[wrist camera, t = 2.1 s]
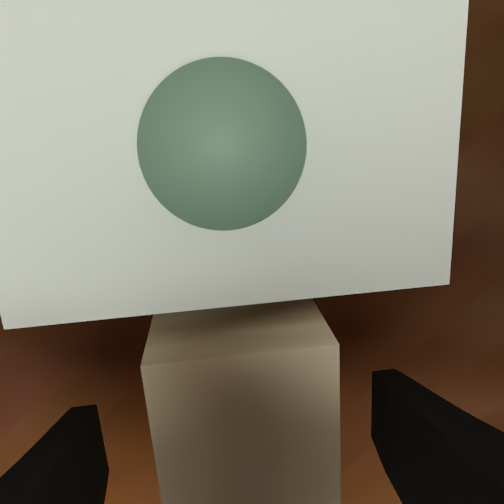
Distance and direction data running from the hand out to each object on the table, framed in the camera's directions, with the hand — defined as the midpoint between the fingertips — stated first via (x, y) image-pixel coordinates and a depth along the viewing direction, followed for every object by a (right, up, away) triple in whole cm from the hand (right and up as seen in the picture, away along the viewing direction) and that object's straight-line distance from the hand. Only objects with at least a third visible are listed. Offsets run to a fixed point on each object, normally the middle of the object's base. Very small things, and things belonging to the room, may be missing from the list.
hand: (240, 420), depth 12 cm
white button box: (-1, +8, +2) cm, 8 cm away
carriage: (0, +1, +4) cm, 4 cm away
